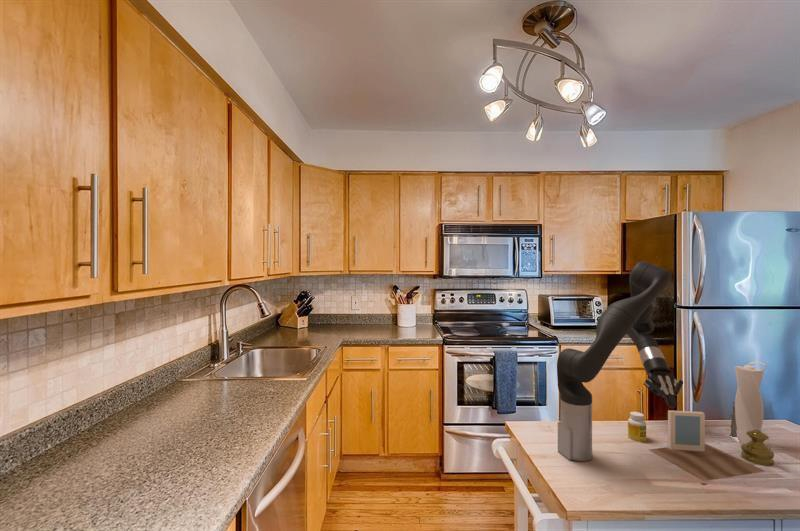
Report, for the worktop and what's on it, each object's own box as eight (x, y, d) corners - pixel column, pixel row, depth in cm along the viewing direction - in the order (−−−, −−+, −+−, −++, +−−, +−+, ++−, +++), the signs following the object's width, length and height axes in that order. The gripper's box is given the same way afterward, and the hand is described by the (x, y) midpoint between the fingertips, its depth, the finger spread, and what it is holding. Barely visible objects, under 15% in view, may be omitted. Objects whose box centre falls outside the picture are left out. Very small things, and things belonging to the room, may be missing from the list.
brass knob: (777, 472, 112) (777, 438, 112) (743, 465, 116) (744, 432, 116) (770, 461, 118) (770, 429, 118) (738, 455, 122) (738, 423, 122)
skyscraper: (761, 442, 131) (762, 360, 131) (768, 452, 124) (768, 365, 124) (729, 436, 136) (730, 357, 136) (734, 445, 129) (734, 362, 129)
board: (703, 484, 106) (703, 480, 106) (648, 453, 123) (648, 449, 123) (765, 475, 110) (765, 471, 110) (703, 446, 128) (703, 442, 128)
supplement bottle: (632, 436, 135) (632, 409, 135) (649, 442, 130) (649, 414, 130) (624, 440, 132) (624, 412, 132) (641, 447, 127) (641, 418, 127)
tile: (670, 449, 123) (670, 412, 123) (667, 447, 125) (668, 410, 125) (704, 451, 122) (704, 413, 122) (701, 449, 123) (701, 411, 123)
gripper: (669, 367, 145) (689, 412, 133) (631, 366, 147) (648, 411, 135) (677, 356, 140) (699, 402, 128) (638, 356, 141) (656, 401, 129)
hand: (673, 406), depth 131 cm, fingers closed
